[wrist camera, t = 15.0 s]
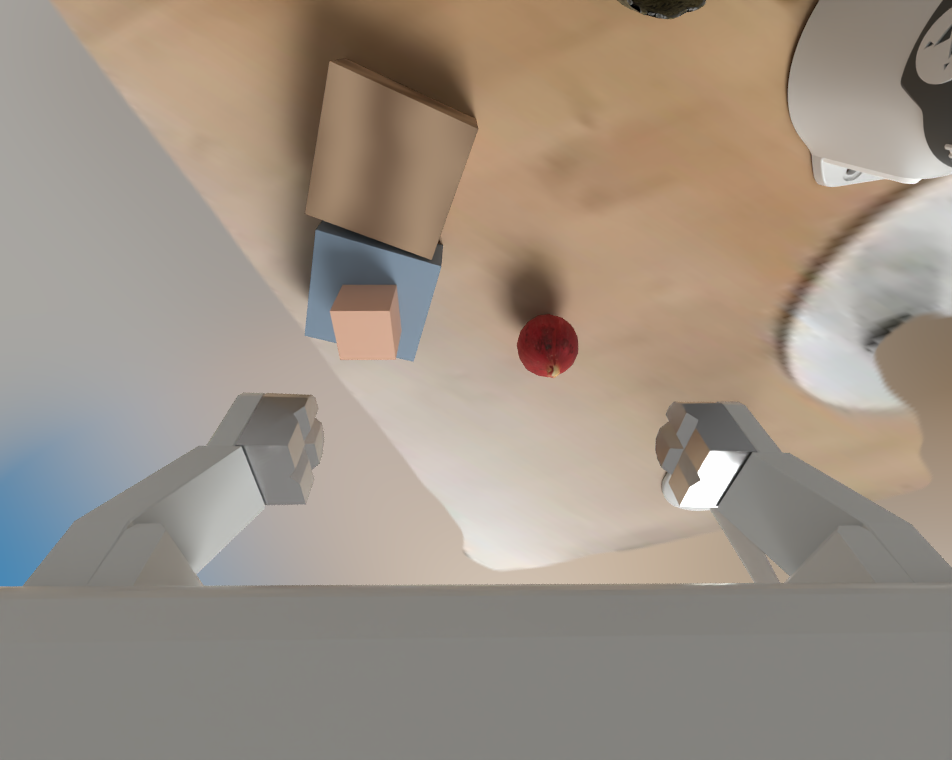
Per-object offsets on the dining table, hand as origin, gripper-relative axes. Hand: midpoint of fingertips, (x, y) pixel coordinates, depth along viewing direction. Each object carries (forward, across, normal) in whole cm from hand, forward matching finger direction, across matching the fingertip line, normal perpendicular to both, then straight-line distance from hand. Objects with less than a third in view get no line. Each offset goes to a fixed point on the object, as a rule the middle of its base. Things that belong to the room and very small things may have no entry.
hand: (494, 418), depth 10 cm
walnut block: (+31, +6, +1) cm, 32 cm away
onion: (+31, -8, +16) cm, 36 cm away
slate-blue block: (+32, +8, +11) cm, 35 cm away
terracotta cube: (+26, +8, +12) cm, 30 cm away
